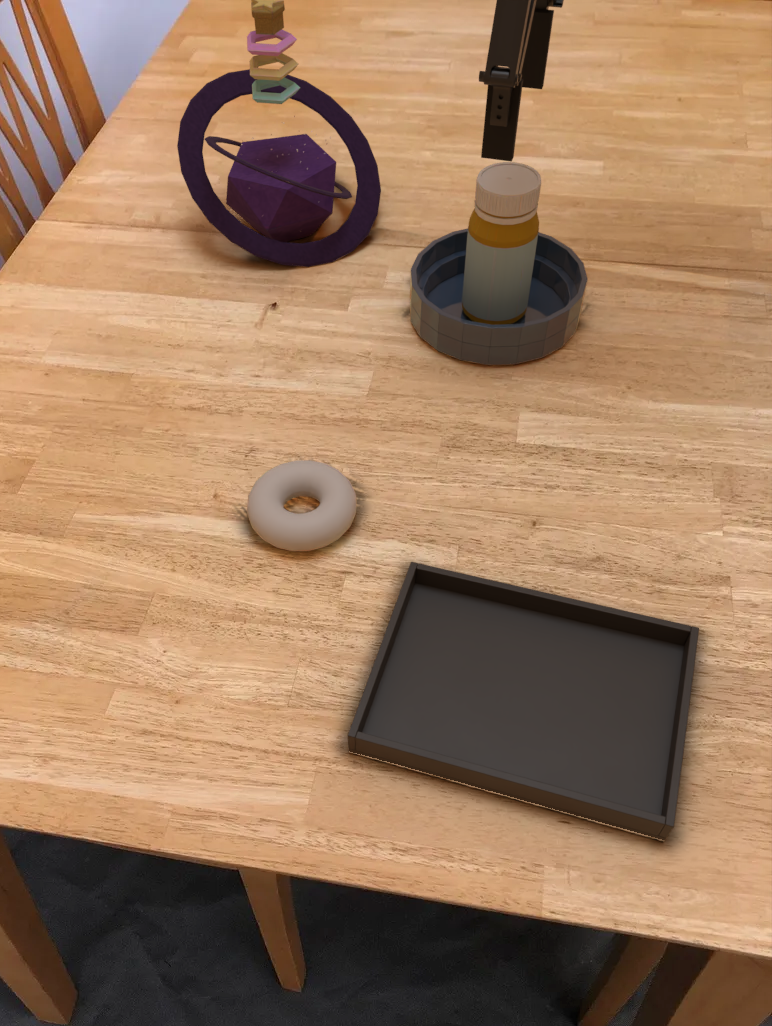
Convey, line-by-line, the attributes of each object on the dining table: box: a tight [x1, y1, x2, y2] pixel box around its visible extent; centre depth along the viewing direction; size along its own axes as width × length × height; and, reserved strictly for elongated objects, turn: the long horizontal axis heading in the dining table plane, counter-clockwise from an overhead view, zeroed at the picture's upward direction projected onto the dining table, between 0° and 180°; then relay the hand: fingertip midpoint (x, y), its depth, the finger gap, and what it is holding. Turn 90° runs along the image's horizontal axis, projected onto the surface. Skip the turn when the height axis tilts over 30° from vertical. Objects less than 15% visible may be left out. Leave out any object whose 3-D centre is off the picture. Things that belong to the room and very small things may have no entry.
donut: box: [246, 459, 358, 552], centre depth 83 cm, size 10×4×10 cm
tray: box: [347, 561, 700, 841], centre depth 71 cm, size 23×17×3 cm
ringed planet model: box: [176, 0, 382, 268], centre depth 103 cm, size 22×21×25 cm
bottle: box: [462, 161, 542, 325], centre depth 95 cm, size 7×7×15 cm
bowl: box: [409, 227, 589, 366], centre depth 99 cm, size 18×18×5 cm
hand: (513, 120), depth 84 cm, fingers open, 13 cm apart
